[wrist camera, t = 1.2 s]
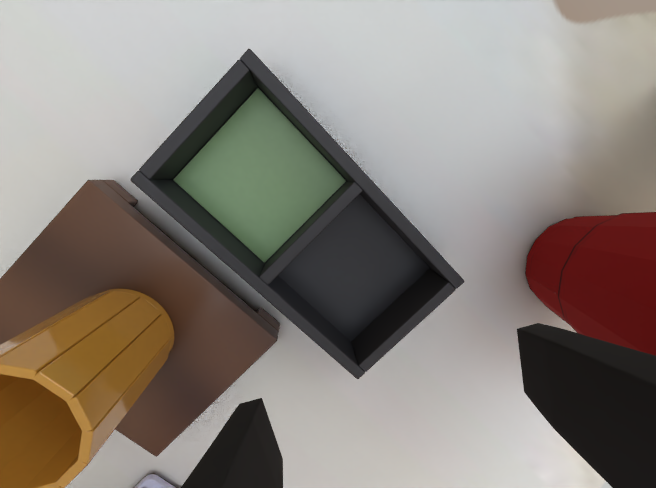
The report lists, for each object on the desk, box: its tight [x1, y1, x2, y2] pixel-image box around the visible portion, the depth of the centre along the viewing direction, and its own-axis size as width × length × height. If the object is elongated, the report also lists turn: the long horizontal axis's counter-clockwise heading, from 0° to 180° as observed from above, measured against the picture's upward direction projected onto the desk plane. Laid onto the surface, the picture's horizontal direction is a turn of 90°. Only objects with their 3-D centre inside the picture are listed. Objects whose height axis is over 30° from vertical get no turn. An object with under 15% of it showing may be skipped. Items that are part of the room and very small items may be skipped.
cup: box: [0, 289, 174, 488], centre depth 13 cm, size 5×5×6 cm
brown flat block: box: [0, 180, 280, 457], centre depth 17 cm, size 10×12×2 cm
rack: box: [131, 49, 464, 379], centre depth 16 cm, size 8×15×3 cm, turn 44°
